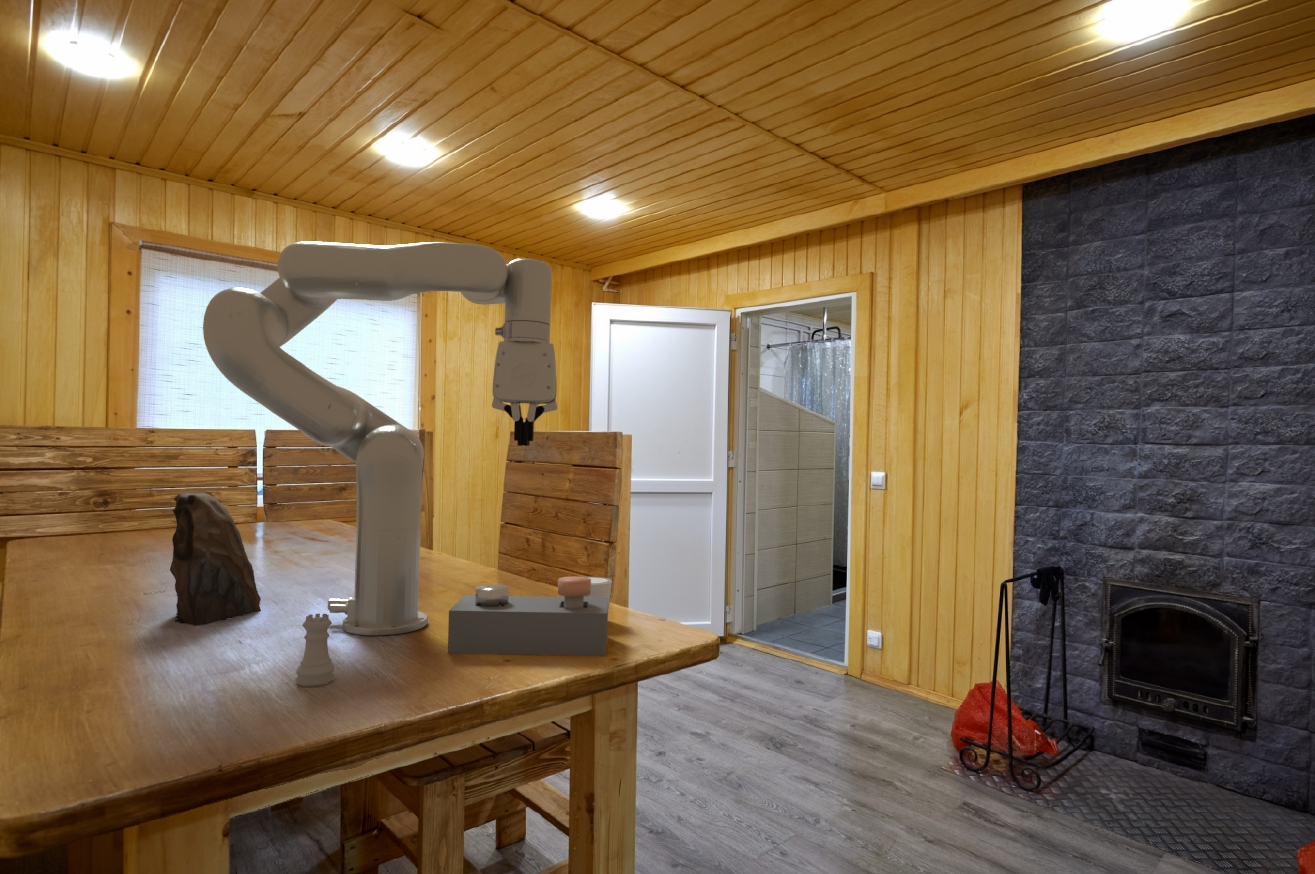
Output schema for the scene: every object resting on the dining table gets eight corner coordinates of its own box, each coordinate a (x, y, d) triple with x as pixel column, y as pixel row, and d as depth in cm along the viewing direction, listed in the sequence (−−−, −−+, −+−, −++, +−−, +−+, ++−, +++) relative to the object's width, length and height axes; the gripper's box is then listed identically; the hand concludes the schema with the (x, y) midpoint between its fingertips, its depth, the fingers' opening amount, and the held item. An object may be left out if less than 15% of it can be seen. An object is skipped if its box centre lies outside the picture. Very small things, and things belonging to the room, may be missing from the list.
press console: (447, 653, 100) (448, 610, 100) (463, 634, 110) (464, 594, 110) (605, 655, 101) (607, 613, 101) (607, 636, 111) (608, 597, 111)
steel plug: (470, 643, 102) (472, 591, 102) (477, 634, 107) (478, 584, 107) (504, 644, 103) (506, 591, 103) (509, 634, 107) (511, 584, 107)
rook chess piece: (308, 690, 84) (311, 622, 84) (287, 682, 86) (289, 616, 86) (343, 680, 88) (345, 615, 88) (321, 673, 90) (323, 609, 90)
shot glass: (614, 617, 123) (615, 576, 123) (607, 627, 116) (608, 584, 116) (574, 615, 123) (575, 574, 123) (565, 625, 116) (566, 582, 116)
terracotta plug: (555, 634, 103) (556, 582, 103) (558, 625, 108) (559, 576, 108) (588, 635, 103) (590, 583, 103) (590, 626, 108) (591, 576, 108)
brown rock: (193, 628, 108) (197, 496, 108) (135, 619, 113) (140, 492, 113) (264, 610, 120) (268, 491, 120) (210, 602, 125) (214, 488, 125)
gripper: (477, 330, 115) (473, 444, 115) (570, 334, 116) (566, 447, 116) (486, 337, 123) (482, 444, 122) (573, 340, 123) (570, 446, 123)
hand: (523, 445), depth 119 cm, fingers closed
